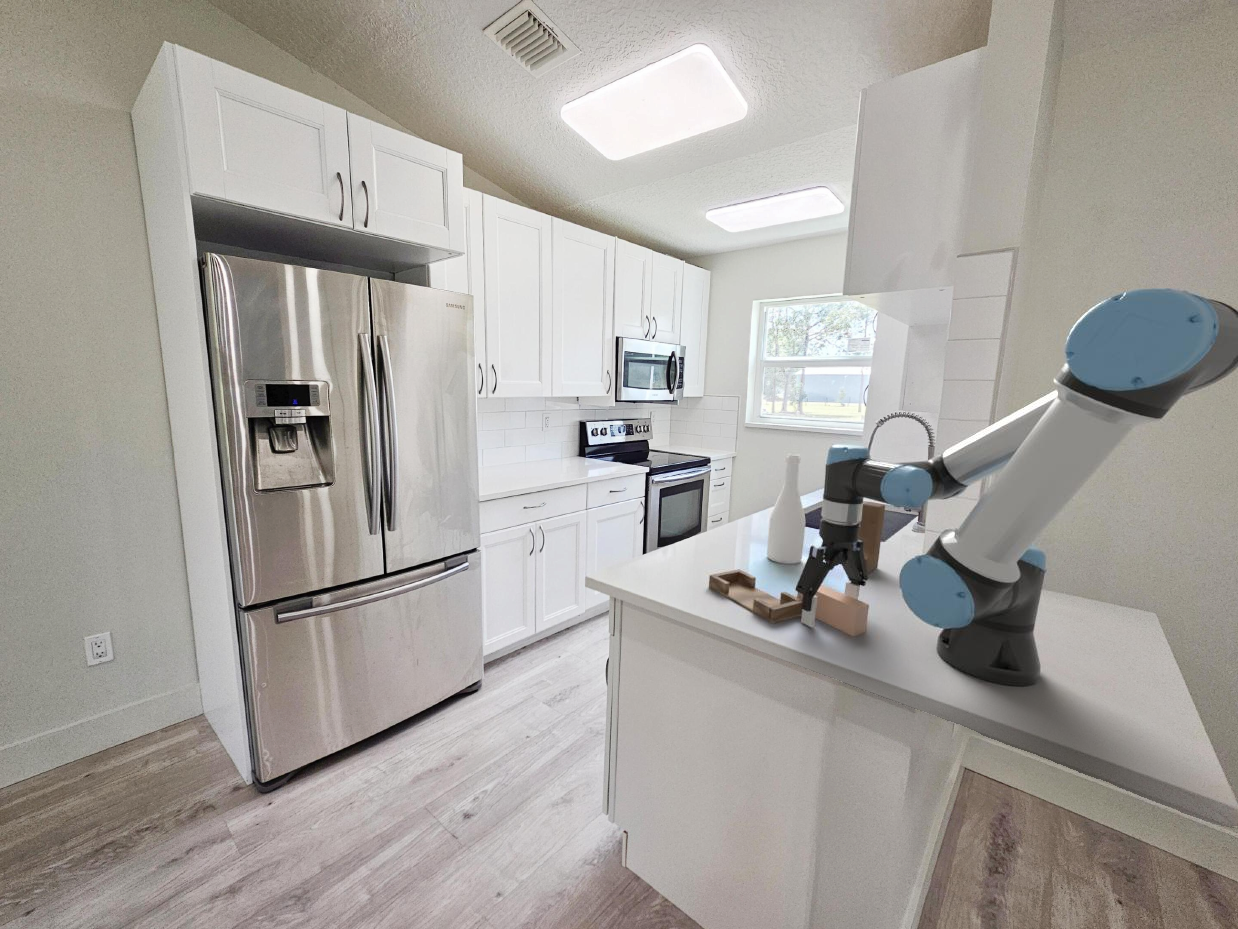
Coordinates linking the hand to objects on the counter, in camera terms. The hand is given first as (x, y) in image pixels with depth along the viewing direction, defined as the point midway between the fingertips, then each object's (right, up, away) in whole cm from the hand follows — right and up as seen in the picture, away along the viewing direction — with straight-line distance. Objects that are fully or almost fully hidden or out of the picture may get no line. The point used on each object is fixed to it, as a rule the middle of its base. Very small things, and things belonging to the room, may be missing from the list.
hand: (829, 618), depth 106 cm
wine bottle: (+2, +6, +36) cm, 37 cm away
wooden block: (+22, +4, +30) cm, 38 cm away
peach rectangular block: (0, 0, 0) cm, 0 cm away
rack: (-14, +2, +8) cm, 16 cm away
